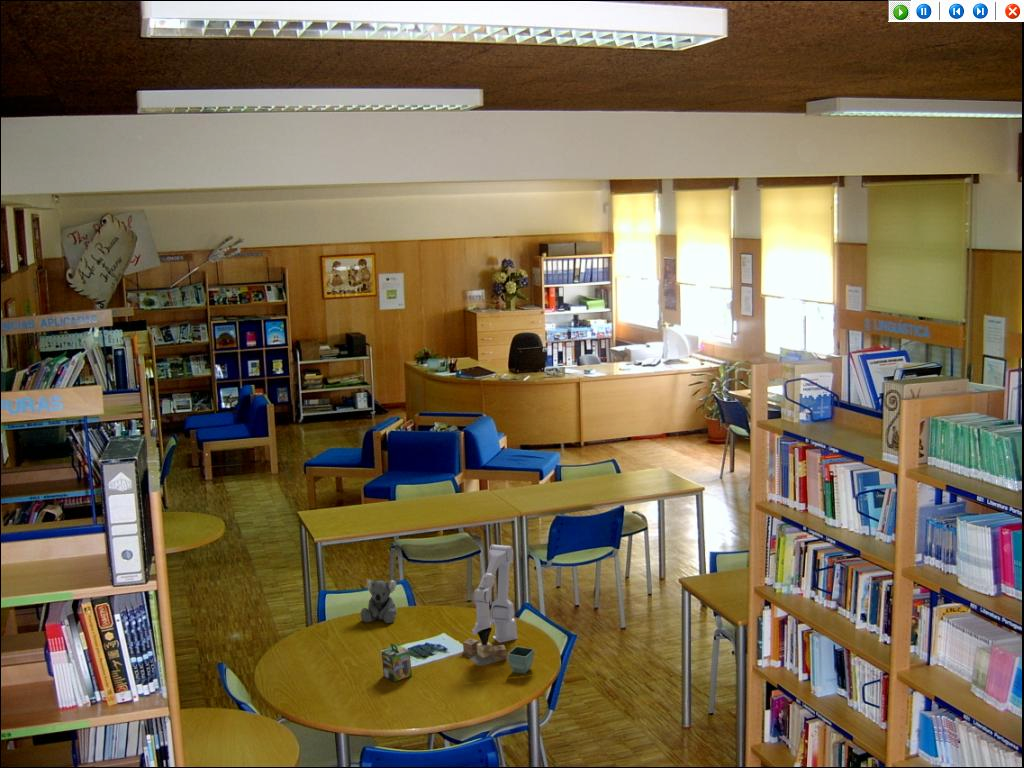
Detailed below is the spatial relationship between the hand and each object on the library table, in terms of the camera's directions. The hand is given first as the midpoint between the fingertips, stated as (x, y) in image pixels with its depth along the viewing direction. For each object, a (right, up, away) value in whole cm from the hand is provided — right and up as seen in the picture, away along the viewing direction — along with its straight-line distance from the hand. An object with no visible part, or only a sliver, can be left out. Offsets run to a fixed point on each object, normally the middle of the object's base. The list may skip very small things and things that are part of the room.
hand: (484, 644), depth 481 cm
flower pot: (+16, -8, -17) cm, 25 cm away
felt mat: (0, -5, 0) cm, 5 cm away
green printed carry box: (-37, -10, -16) cm, 41 cm away
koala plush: (-52, +1, +52) cm, 74 cm away
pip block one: (+7, -5, -4) cm, 9 cm away
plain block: (0, -5, +1) cm, 5 cm away
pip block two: (-6, -5, +5) cm, 9 cm away
